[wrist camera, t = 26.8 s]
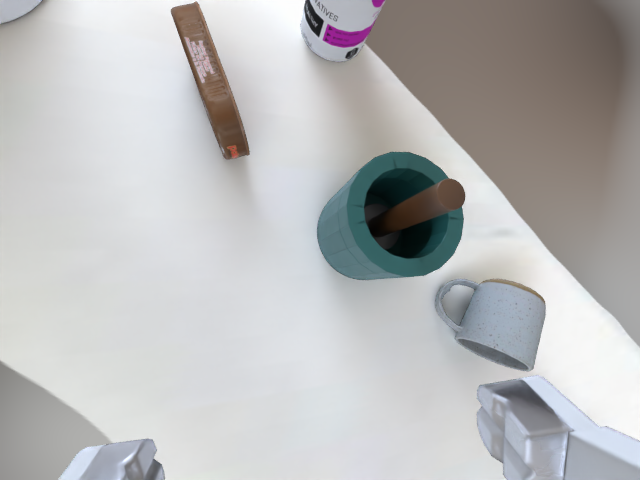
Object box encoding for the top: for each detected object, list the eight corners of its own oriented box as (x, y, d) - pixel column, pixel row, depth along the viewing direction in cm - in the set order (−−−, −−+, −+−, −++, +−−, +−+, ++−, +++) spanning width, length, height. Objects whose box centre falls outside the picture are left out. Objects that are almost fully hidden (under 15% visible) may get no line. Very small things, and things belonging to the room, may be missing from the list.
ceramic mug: (512, 303, 41) (571, 306, 33) (491, 363, 39) (549, 381, 31) (445, 263, 40) (490, 257, 32) (420, 324, 38) (462, 332, 30)
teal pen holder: (297, 226, 36) (320, 200, 25) (364, 172, 39) (409, 129, 28) (358, 299, 36) (405, 304, 26) (419, 240, 39) (485, 222, 29)
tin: (251, 166, 36) (253, 130, 27) (223, 174, 35) (217, 139, 27) (206, 45, 36) (196, -24, 28) (178, 50, 36) (159, -20, 27)
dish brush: (334, 229, 36) (403, 186, 21) (365, 203, 37) (451, 144, 22) (362, 263, 36) (451, 245, 21) (392, 236, 37) (496, 200, 22)
